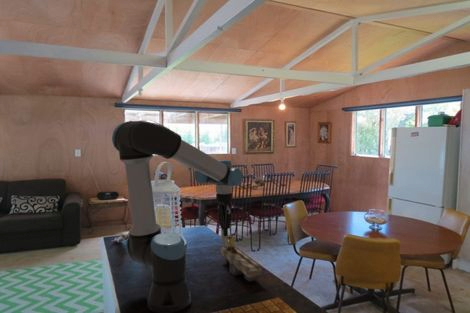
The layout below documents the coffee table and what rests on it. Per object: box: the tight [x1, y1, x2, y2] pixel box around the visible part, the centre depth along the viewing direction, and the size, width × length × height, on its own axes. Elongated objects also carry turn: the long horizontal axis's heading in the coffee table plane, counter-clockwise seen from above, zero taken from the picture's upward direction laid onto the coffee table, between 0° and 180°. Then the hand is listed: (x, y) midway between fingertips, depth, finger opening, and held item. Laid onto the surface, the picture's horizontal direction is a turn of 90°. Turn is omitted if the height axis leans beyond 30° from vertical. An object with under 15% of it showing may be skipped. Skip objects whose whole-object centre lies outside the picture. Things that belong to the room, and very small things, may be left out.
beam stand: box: [219, 246, 262, 282], centre depth 140 cm, size 28×7×7 cm, turn 25°
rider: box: [225, 234, 236, 252], centre depth 147 cm, size 4×4×7 cm
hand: (224, 241), depth 154 cm, fingers closed
